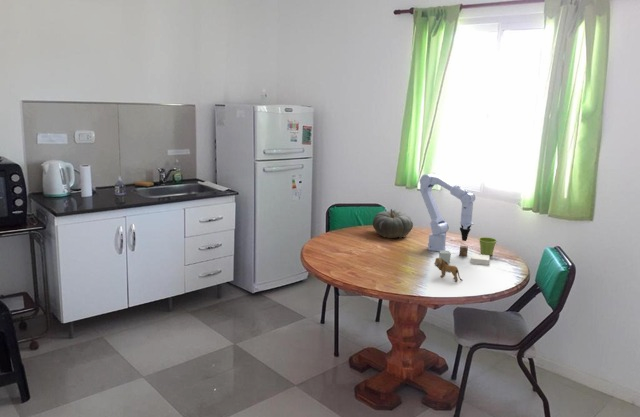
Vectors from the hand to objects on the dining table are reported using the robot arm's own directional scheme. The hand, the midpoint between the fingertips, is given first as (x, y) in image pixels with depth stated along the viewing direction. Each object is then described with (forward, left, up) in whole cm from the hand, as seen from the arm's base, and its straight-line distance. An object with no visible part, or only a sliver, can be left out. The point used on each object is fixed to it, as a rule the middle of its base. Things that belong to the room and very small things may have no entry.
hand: (464, 238), depth 270 cm
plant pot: (+12, +6, -10) cm, 17 cm away
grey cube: (-9, -14, -10) cm, 19 cm away
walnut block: (0, 0, -10) cm, 10 cm away
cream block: (+9, -8, -10) cm, 15 cm away
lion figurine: (-5, -40, -10) cm, 42 cm away
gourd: (-44, +26, -10) cm, 52 cm away
